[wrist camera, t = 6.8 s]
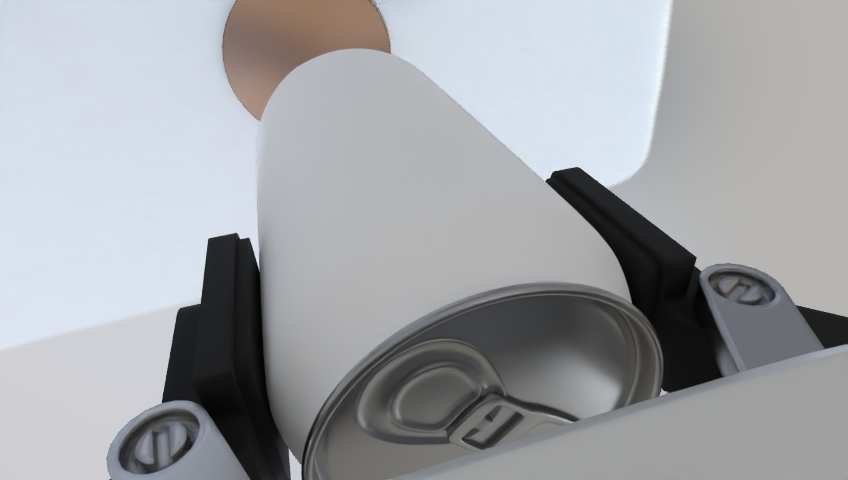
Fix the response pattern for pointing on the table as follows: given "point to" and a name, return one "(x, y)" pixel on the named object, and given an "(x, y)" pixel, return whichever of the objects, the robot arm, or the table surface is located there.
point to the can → (425, 280)
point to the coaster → (291, 40)
